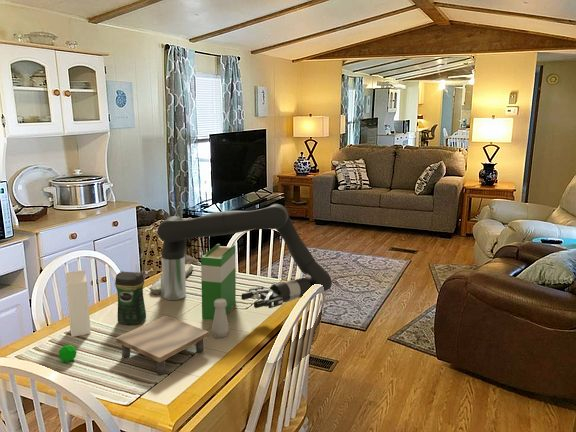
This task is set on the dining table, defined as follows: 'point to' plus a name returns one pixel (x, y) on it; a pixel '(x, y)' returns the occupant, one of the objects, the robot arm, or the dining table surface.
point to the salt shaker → (220, 319)
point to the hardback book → (218, 279)
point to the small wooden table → (162, 340)
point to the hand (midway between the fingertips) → (248, 301)
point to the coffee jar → (130, 298)
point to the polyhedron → (67, 353)
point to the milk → (78, 303)
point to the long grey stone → (157, 284)
